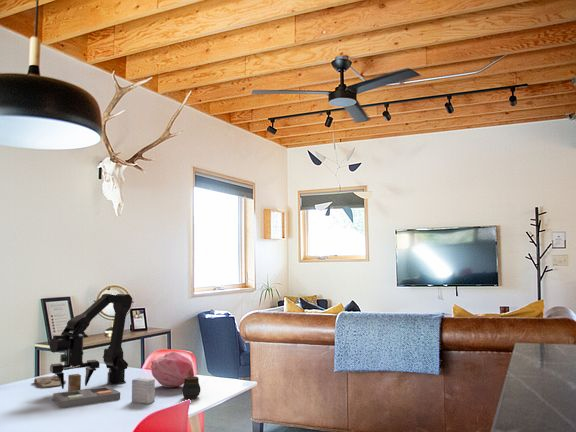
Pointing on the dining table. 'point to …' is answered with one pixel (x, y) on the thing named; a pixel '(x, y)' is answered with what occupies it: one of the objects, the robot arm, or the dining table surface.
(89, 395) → the socket plate
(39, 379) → the fossil
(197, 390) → the mate gourd
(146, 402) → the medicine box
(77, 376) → the plug
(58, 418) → the dining table surface
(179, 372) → the decorative rock
